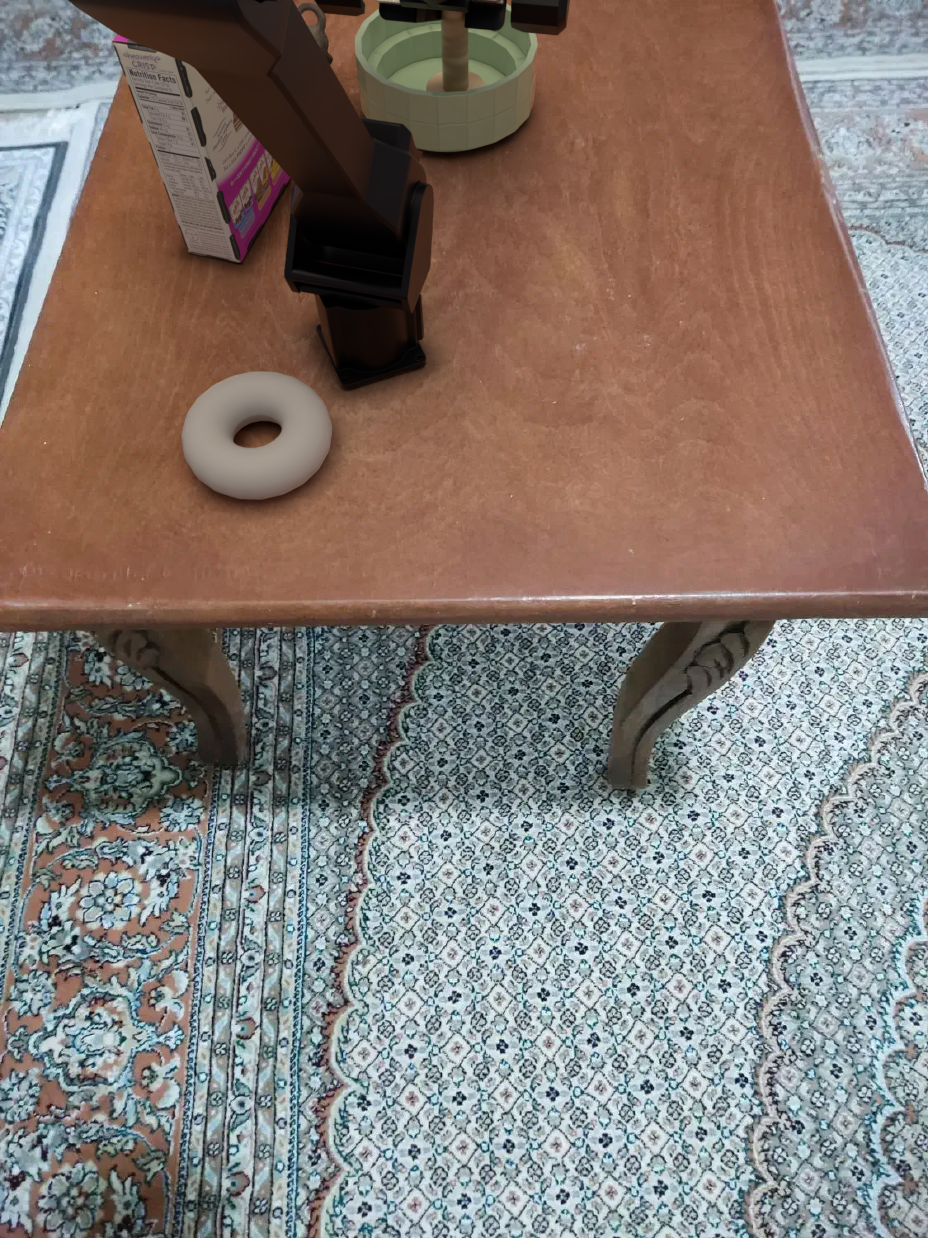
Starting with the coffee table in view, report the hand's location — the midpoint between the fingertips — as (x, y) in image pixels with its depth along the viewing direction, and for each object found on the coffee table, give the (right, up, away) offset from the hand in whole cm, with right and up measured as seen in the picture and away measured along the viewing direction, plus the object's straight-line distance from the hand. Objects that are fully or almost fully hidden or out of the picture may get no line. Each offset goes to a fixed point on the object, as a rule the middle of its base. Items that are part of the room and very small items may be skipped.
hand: (457, 13), depth 71 cm
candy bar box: (-18, -16, +1) cm, 24 cm away
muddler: (0, -4, +5) cm, 7 cm away
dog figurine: (-17, -1, +9) cm, 19 cm away
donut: (-13, -37, -11) cm, 41 cm away
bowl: (-1, -3, +7) cm, 8 cm away
